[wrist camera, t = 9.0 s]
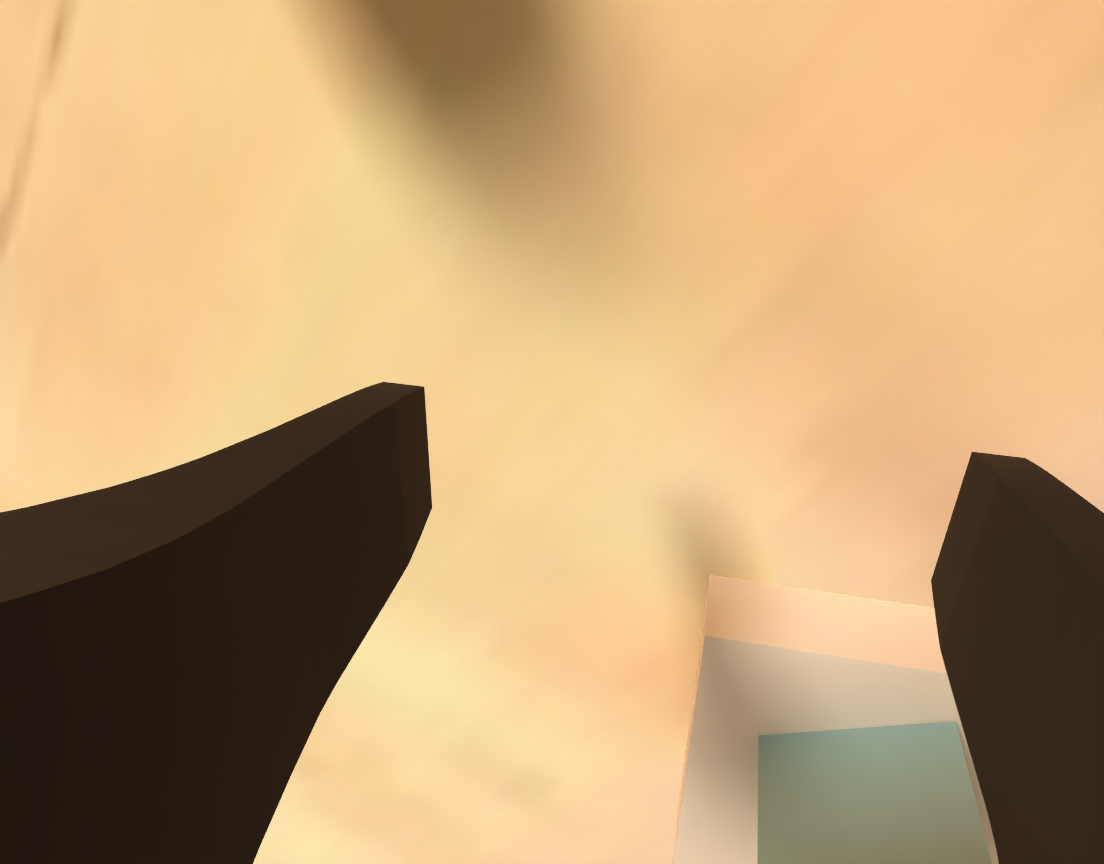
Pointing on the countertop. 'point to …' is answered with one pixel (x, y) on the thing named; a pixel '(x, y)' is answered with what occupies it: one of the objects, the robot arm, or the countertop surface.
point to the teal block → (868, 797)
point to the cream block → (797, 696)
